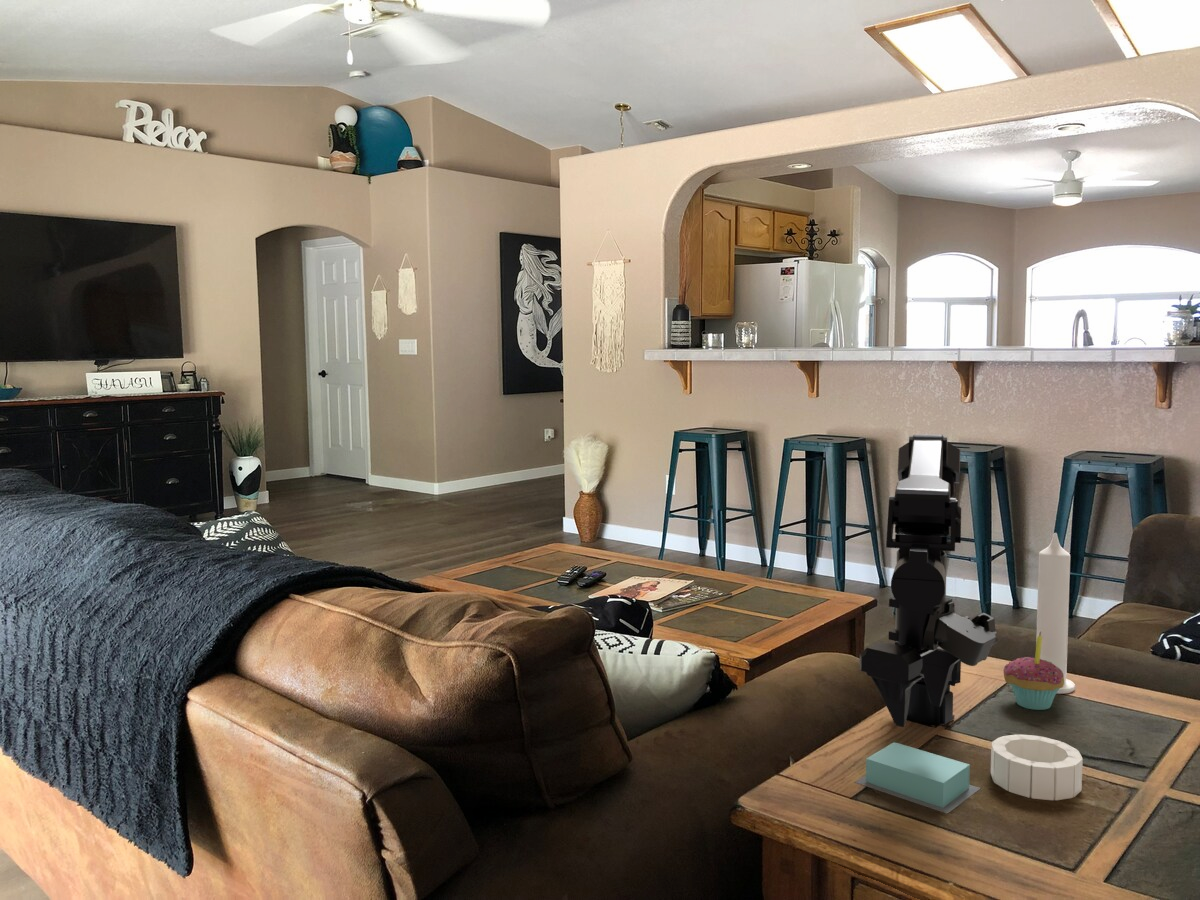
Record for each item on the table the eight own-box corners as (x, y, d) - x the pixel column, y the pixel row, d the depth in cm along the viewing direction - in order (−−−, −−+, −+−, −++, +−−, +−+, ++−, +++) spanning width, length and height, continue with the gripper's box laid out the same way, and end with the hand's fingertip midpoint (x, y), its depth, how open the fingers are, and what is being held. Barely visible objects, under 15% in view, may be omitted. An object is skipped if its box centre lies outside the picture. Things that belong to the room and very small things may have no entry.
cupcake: (1073, 714, 142) (1076, 635, 140) (1016, 715, 142) (1018, 636, 141) (1047, 694, 150) (1050, 619, 149) (993, 694, 150) (995, 620, 149)
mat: (854, 786, 119) (854, 781, 119) (890, 764, 125) (890, 759, 125) (947, 818, 110) (947, 813, 110) (980, 792, 117) (980, 788, 117)
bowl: (977, 786, 119) (978, 751, 118) (1010, 761, 126) (1011, 728, 125) (1062, 812, 112) (1063, 775, 111) (1092, 784, 119) (1093, 749, 118)
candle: (1074, 682, 155) (1079, 530, 153) (1075, 696, 149) (1081, 538, 147) (1026, 676, 158) (1031, 527, 156) (1025, 690, 152) (1030, 535, 150)
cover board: (865, 781, 119) (866, 758, 119) (893, 764, 124) (893, 742, 124) (943, 807, 112) (943, 783, 112) (969, 788, 117) (969, 764, 116)
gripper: (950, 618, 103) (947, 757, 105) (1019, 587, 116) (1015, 711, 118) (857, 600, 111) (856, 730, 113) (932, 573, 124) (930, 690, 126)
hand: (918, 715), depth 117 cm, fingers open, 9 cm apart
